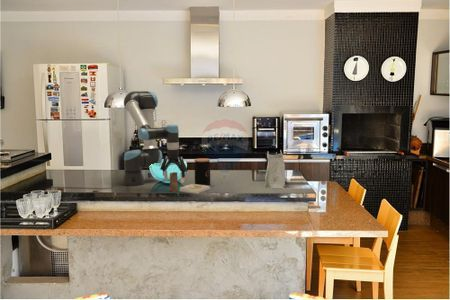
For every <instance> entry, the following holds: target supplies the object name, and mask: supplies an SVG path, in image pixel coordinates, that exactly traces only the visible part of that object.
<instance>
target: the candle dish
mask: <svg viewBox="0 0 450 300" xmlns="http://www.w3.org/2000/svg"><path fill="white" fill-rule="evenodd" d="M210 190H211V187H210V185H209V186H206V185H198V184H195V183H191V184H187V185H184V186H181V187H179V192H180V193H181V192H182V193H187V194H188V193H189V194H194V195H199V194H201V193H205V192H208V191H210Z"/></svg>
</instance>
